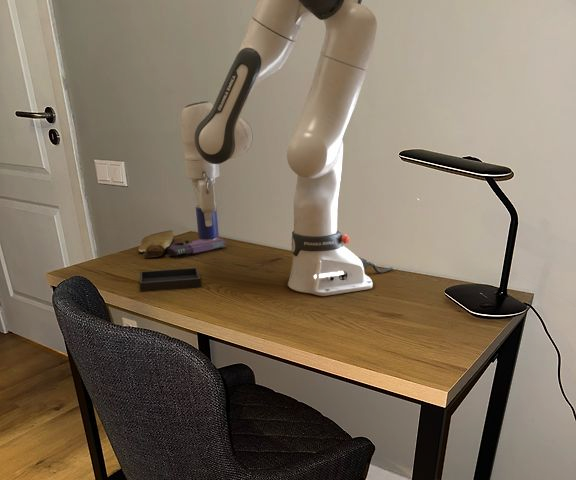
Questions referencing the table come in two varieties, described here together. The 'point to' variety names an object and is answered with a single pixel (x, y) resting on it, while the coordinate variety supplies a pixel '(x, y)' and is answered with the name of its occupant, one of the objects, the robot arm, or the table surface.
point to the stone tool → (156, 243)
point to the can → (203, 230)
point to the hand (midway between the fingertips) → (207, 223)
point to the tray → (169, 279)
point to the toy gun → (194, 246)
